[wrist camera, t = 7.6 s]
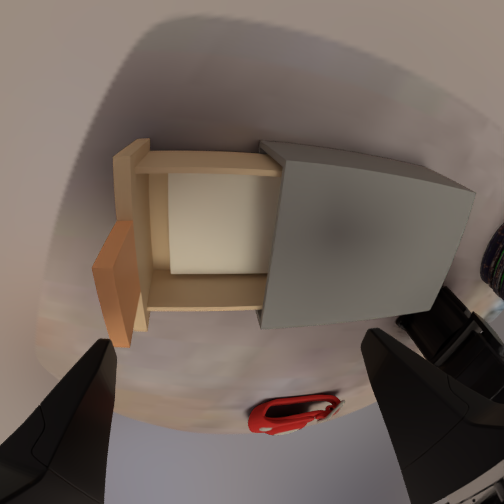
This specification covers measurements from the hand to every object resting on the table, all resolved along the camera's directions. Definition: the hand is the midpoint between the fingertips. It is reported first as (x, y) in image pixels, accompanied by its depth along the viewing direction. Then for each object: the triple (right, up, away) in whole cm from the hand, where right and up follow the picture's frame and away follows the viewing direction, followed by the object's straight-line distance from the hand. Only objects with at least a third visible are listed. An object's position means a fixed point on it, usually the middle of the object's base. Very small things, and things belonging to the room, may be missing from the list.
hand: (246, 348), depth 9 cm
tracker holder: (+6, -18, +26) cm, 32 cm away
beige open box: (0, +6, +10) cm, 12 cm away
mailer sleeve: (+7, +6, +12) cm, 15 cm away
